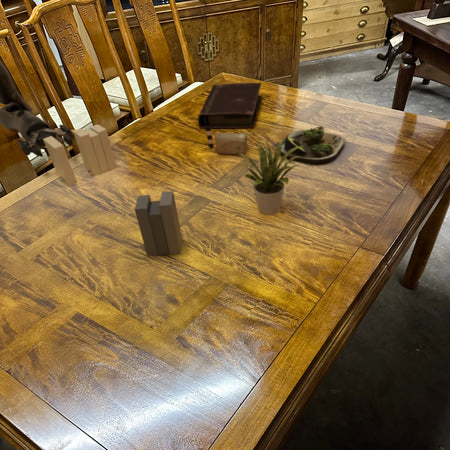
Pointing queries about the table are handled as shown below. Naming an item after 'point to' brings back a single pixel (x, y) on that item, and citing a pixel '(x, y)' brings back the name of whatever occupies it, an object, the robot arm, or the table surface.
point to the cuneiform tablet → (228, 142)
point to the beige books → (95, 149)
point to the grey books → (159, 224)
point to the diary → (231, 106)
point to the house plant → (270, 178)
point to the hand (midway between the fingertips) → (55, 147)
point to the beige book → (60, 160)
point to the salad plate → (312, 146)
